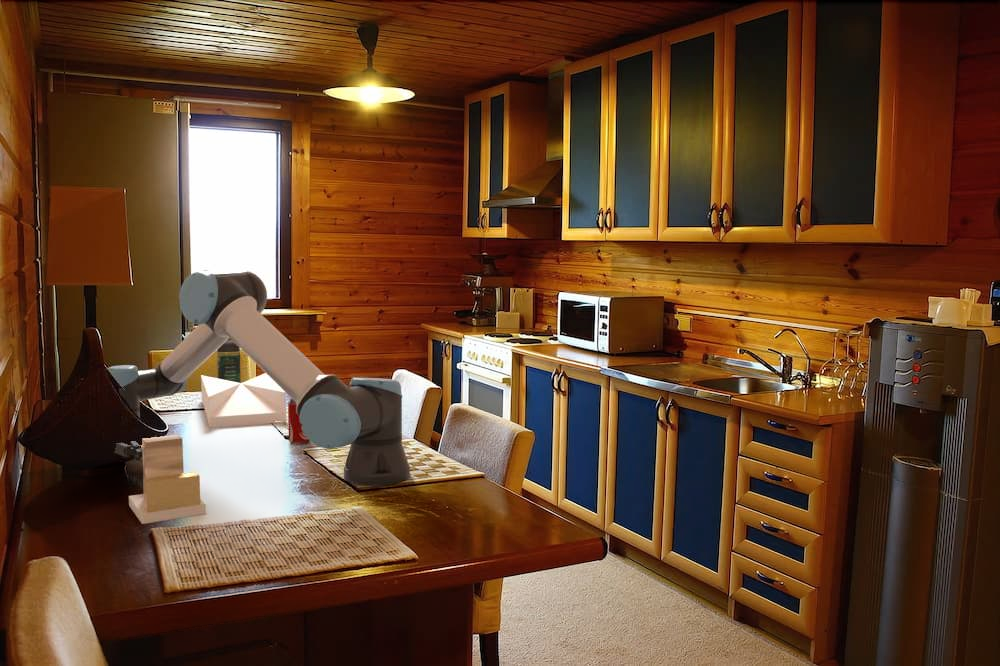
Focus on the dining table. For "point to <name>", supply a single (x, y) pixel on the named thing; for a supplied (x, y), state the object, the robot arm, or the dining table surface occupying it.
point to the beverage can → (295, 425)
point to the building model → (243, 401)
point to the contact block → (171, 492)
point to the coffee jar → (229, 362)
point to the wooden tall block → (162, 456)
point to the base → (138, 508)
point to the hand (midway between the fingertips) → (149, 457)
